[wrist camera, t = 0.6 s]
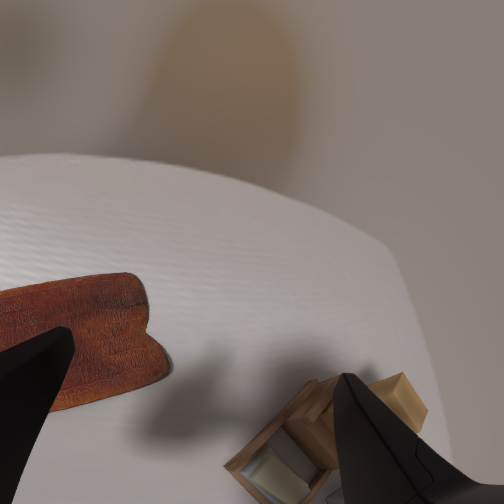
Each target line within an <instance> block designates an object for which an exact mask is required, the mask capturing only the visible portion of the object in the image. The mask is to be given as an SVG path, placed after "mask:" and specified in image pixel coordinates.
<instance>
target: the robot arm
mask: <svg viewBox="0 0 504 504" xmlns="http://www.w3.org/2000/svg"><path fill="white" fill-rule="evenodd" d="M74 354H75V343H74V338H73V334H72V330H71V329H70V328H69V327H65V326H62V325H60V326H57V327H55V328H53V329H51V330H48V331H46V332H44V333H42V334H39V335H37V336H35V337H32V338H30V339H28V340H26V341H23V342H21V343H19V344H17V345H14V346H12V347H10V348H8V349H5V350H3V351H1V352H0V504H12V501H13V498H14V495H15V492H16V490H17V487H18V484H19V481H20V478H21V476H22V473H23V471H24V468H25V465H26V463H27V461H28V458H29V456H30V453H31V451H32V449H33V446H34V444H35V442H36V439H37V437H38V435H39V433H40V430H41V428H42V426H43V424H44V422H45V419H46V417H47V415H48V413H49V411H50V409H51V407H52V405H53V403H54V401H55V399H56V397H57V395H58V393H59V391H60V389H61V386H62V384H63V382H64V379H65V376H66V374H67V371H68V369H69V366H70V364H71V361H72V359H73V356H74ZM332 398H333V418H334V436H335V443H336V450H337V456H338V462H339V469H340V476H341V483H342V490H343V498H344V504H504V485H488V484H481V483H478V482H475V481H473V480H471V479H470V478H469V477H467V476H466V475H465V474H463V473H462V472H461V471H459V470H458V469H457V468H455V467H454V466H453V465H451V464H450V463H449V462H447V461H446V460H445V459H444V458H442V457H441V456H440V455H439V454H437V453H436V452H435V451H434V450H433V449H432V448H431V447H430V446H428V445H427V444H426V443H425V442H424V441H423V440H422V439H421V438H420V437H419V438H418V435H417V434H416V433H415V432H414V431H413V430H412V429H410V428H409V427H408V426H407V425H406V424H405V423H404V422H403V421H402V420H401V419H400V418H399V417H398V416H397V415H396V414H395V413H394V412H393V411H392V410H391V409H390V408H389V407H388V406H387V405H386V404H385V403H384V402H383V401H382V400H381V399H380V398H378V397H377V396H376V395H375V394H374V393H373V392H372V391H371V390H370V389H369V388H368V387H367V386H366V385H365V384H364V383H363V382H362V381H361V380H360V379H359V378H358V377H357V376H356V375H355V374H353V373H342V374H341V375H340V376H339V379H338V381H337V383H336V385H335V387H334V390H333V395H332Z"/></svg>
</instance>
